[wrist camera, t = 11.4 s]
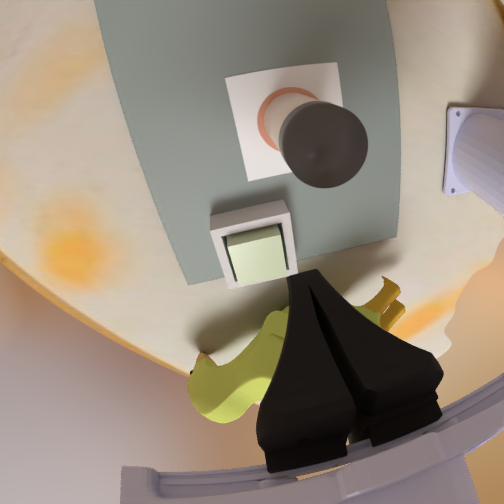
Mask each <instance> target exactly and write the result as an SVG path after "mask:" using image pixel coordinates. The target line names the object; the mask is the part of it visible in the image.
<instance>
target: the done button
mask: <svg viewBox="0 0 504 504" xmlns="http://www.w3.org/2000/svg"><path fill="white" fill-rule="evenodd" d="M226 236H227V247H228V250H229V254H230V257H231V260H232V264H233V267H234V270H235V274H236V277H237V280H238V284H239V286H242V285H247V284H251V283H256V282H260V281H265V280H269V279H273V278H278V277H282V276H286V275H287V270H286V264H285V258H284V252H283V246H282V240H281V234H280V232H279V229H278V226H277V224H273V225H269V226H265V227H260V228H256V229H251V230H247V231H243V232H238V233H234V234H230V235H226Z"/></svg>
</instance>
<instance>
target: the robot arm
mask: <svg viewBox="0 0 504 504" xmlns="http://www.w3.org/2000/svg"><path fill="white" fill-rule="evenodd" d="M456 112H458V113H457V115H456ZM452 188H453V189H452ZM451 190H452V191H451ZM471 191H472V192H473V193H474V194H476V195H477V196H478V197H480V198H481V199H482V200H484V201H485V202H486V203H487V204H489V205H490V206H491V207H493V208H494V209H495V210H496V211H498V212H499V213H500V214H501V215H502V216H504V109H493V108H477V107H450V108H449V109H448V112H447V149H446V165H445V177H444V187H443V193H444V194H445V195H446V196H452V195H457V194H462V193H467V192H471ZM287 283H288V289H289V313H288V321H287V328H286V334H285V339H284V343H283V347H282V351H281V354H280V358H279V361H278V364H277V367H276V369H275V372H274V375H273V377H272V380H271V382H270V385H269V387H268V389H267V391H266V393H265V395H264V397H263V399H262V401H261V403H260V408H259V412H258V418H257V423H256V434H257V440H258V444H259V446H260V447H261V448H262V450H263V451H264V452H265V458H266V464H263V465H257V466H250V467H242V468H233V469H222V470H210V471H191V472H158V471H156V470H155V469H153V468H148V467H138V466H122V471H121V497H120V499H121V500H120V504H480V502H479V499H478V496H477V492H476V489H475V486H474V483H473V480H472V478H471V475H470V472H469V469H468V466H467V464H466V461H465V458H464V455H466V454H468V453H469V452H471V451H473V450H474V449H476V448H477V447H479V446H481V445H482V444H484V443H485V442H487V441H488V440H490V439H491V438H492V437H494V436H495V435H497V434H498V433H500V432H501V431H502V430H504V373H502V374H501V375H499V376H498V377H496V378H495V379H493V380H492V381H490V382H488V383H487V384H485V385H483V386H482V387H480V388H478V389H477V390H475V391H473V392H472V393H470V394H468V395H466V396H464V397H463V398H461V399H459V400H457V401H455V402H453V403H451V404H449V405H447V406H445V407H443V408H442V409H440V407H439V405H438V403H437V401H436V400H437V399H438V395H437V393H436V391H435V390H436V388H437V387H438V385H439V383H440V382H441V380H442V378H443V375H444V373H443V370H442V368H441V366H440V364H439V363H438V361H437V360H436V358H435V357H434V356H433V354H432V353H430V352H428V351H425V350H423V349H420V348H418V347H415V346H413V345H411V344H409V343H407V342H405V341H403V340H401V339H399V338H397V337H396V336H394V335H392V334H391V333H389V332H387V331H385V330H384V329H382V328H381V327H379V326H378V325H376V324H375V323H373V322H372V321H371V320H369V319H368V318H366V317H365V316H364V315H363V314H361V313H360V312H359V311H358V310H357V309H355V308H354V307H353V306H352V305H351V304H350V303H349V302H347V301H346V300H345V299H344V298H343V297H342V296H341V295H340V294H339V293H338V292H337V291H336V290H335V289H334V288H333V287H332V286H331V285H330V284H329V283H328V281H327V280H326V279H325V278H324V277H323V276H322V274H321V273H320V272H319V271H318V270H317V269H314V270H310V271H306V272H302V273H298V274H294V275H290V276H288V277H287ZM347 438H348V440H349V445H347V446H346V441H347ZM355 461H356V462H355ZM352 462H353V463H352ZM348 463H351V464H348ZM345 464H348V465H346V466H344V467H342V468H339V469H337V470H333V471H330V472H327V473H324V474H320V475H317V476H314V477H310V478H306V479H303V480H299V481H298V479H297V478H296V476H300V475H306V474H310V473H314V472H318V471H323V470H326V469H330V468H334V467H337V466H341V465H345ZM291 477H293V478H291Z"/></svg>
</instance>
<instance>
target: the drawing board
mask: <svg viewBox="0 0 504 504" xmlns="http://www.w3.org/2000/svg"><path fill="white" fill-rule="evenodd" d="M94 2H95V7H96V12H97V16H98V21H99V25H100V29H101V34H102V38H103V42H104V46H105V50H106V54H107V58H108V61H109V65H110V69H111V72H112V76H113V80H114V83H115V87H116V90H117V93H118V97H119V100H120V104H121V107H122V110H123V113H124V117H125V120H126V123H127V126H128V129H129V132H130V135H131V138H132V141H133V144H134V147H135V150H136V153H137V156H138V159H139V162H140V165H141V168H142V170H143V173H144V176H145V179H146V181H147V184H148V187H149V190H150V192H151V195H152V198H153V200H154V203H155V206H156V208H157V211H158V213H159V216H160V219H161V221H162V224H163V226H164V229H165V231H166V234H167V236H168V239H169V241H170V244H171V246H172V248H173V251H174V253H175V256H176V258H177V260H178V263H179V265H180V267H181V270H182V272H183V274H184V277H185V279H186V281H187V284H188V285H192V284H197V283H201V282H206V281H210V280H215V279H220V278H224V277H225V279H226V282H227V285H228V288H229V290H230V289H234V288H239V287H244V286H248V285H252V284H257V283H261V282H266V281H270V280H274V279H279V278H283V277H287V276H290V275H294V274H298V269H297V261H298V260H303V259H307V258H311V257H315V256H320V255H324V254H328V253H332V252H336V251H340V250H345V249H349V248H353V247H357V246H361V245H365V244H369V243H373V242H377V241H381V240H385V239H389V238H393V237H397V227H398V215H399V199H400V175H401V128H400V105H399V90H398V78H397V68H396V59H395V51H394V44H393V37H392V31H391V25H390V19H389V14H388V9H387V4H386V0H94ZM285 93H300V94H303V95H306V96H308V97H311V98H314V99H316V100H319V101H326V102H330V103H332V104H335V105H338V106H340V107H343V108H345V109H347V110H349V111H351V112H352V113H353V114H355V115H356V116H357V117H358V118H359V119H360V121H361V122H362V124H363V126H364V127H365V130H366V133H367V137H368V152H367V156H366V159H365V162H364V164H363V166H362V168H361V169H360V170H359V172H358V173H357V174H356V175H355V176H354V177H353V178H352V179H351V180H349V181H348V182H346V183H344V184H342V185H340V186H337V187H333V188H316V187H312V186H309V185H307V184H305V183H303V182H302V181H301V180H299V179H298V178H297V177H296V176H295V175H294V174H293V172H292V171H291V169H290V168H289V166H288V165H287V164H286V162H285V161H284V159H283V157H282V155H281V152H280V150H279V149H278V147H277V146H276V145H275V143H274V142H273V141H272V139H271V138H270V137H269V135H268V134H267V132H266V130H265V126H264V114H265V110H266V108H267V106H268V105H269V103H270V102H271V101H272V100H273V99H274V98H276V97H277V96H279V95H282V94H285ZM273 224H277V226H278V229H279V232H280V234H281V240H282V246H283V252H284V258H285V264H286V270H287V275H286V276H282V277H278V278H273V279H269V280H265V281H260V282H256V283H251V284H247V285H242V286H239V284H238V280H237V277H236V274H235V270H234V267H233V264H232V260H231V257H230V254H229V250H228V247H227V236H226V235H230V234H234V233H238V232H243V231H247V230H251V229H256V228H260V227H265V226H269V225H273Z"/></svg>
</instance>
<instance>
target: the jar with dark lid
mask: <svg viewBox="0 0 504 504" xmlns="http://www.w3.org/2000/svg"><path fill="white" fill-rule="evenodd" d="M264 126H265V130H266V132H267V134H268V135H269V137H270V138H271V139H272V141H273V142H274V143H275V145H276V146H277V147H278V149H279V150H280V152H281V155H282V157H283V159H284V161H285V162H286V164H287V165H288V166H289V168H290V169H291V171H292V172H293V174H294V175H295V176H296V177H297V178H298V179H299V180H301V181H302V182H303V183H305V184H307V185H309V186H312V187H316V188H333V187H337V186H340V185H342V184H344V183H346V182H348V181H349V180H351V179H352V178H353V177H354V176H355V175H356V174H357V173H358V172H359V170H360V169H361V168H362V166H363V164H364V162H365V159H366V156H367V152H368V137H367V133H366V130H365V127H364V126H363V124H362V122H361V121H360V119H359V118H358V117H357V116H356V115H355V114H353V113H352V112H351V111H349V110H347V109H345V108H343V107H340V106H338V105H335V104H332V103H330V102H326V101H319V100H316V99H314V98H311V97H308V96H306V95H303V94H300V93H285V94H282V95H279V96H277V97H276V98H274V99H273V100H272V101H271V102H270V103H269V105H268V106H267V108H266V110H265V114H264Z"/></svg>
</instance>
